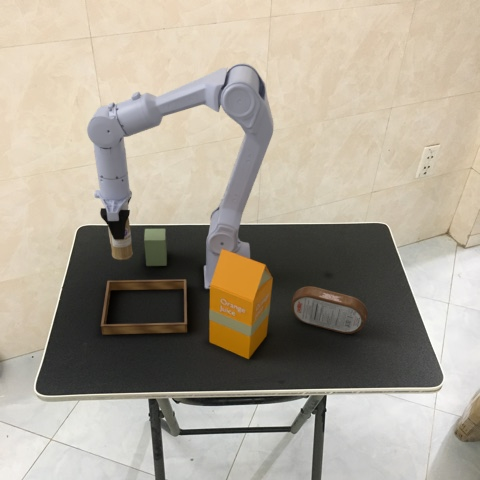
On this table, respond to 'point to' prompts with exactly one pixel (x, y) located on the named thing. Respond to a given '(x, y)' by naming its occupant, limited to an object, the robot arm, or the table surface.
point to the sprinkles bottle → (122, 242)
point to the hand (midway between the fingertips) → (119, 231)
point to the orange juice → (239, 303)
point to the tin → (329, 310)
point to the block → (155, 247)
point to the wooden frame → (148, 326)
